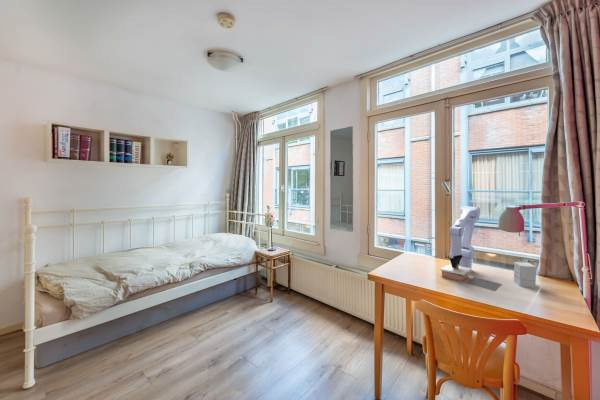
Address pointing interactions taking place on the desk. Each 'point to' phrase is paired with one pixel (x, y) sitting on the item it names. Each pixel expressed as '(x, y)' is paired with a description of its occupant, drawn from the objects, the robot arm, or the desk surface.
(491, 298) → the desk surface
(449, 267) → the lid
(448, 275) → the dish
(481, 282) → the mat
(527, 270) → the supplement box
